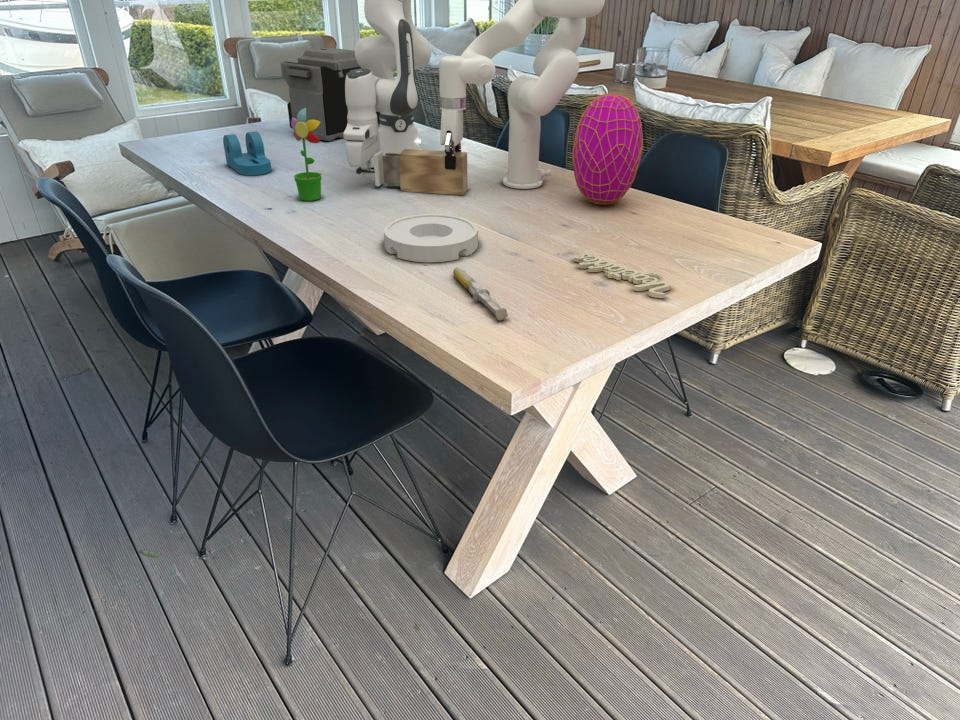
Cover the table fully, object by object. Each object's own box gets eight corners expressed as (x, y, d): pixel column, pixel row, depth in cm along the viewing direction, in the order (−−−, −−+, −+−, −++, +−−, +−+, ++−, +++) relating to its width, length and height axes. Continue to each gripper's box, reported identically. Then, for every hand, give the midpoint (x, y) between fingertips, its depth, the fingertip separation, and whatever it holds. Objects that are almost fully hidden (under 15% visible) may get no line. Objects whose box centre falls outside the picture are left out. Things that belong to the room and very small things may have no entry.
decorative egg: (611, 217, 189) (624, 103, 174) (555, 202, 201) (562, 94, 185) (647, 202, 202) (662, 94, 186) (592, 188, 213) (602, 86, 198)
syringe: (449, 274, 155) (449, 263, 153) (465, 272, 156) (464, 260, 154) (490, 323, 135) (491, 310, 133) (508, 319, 136) (508, 307, 134)
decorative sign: (686, 282, 150) (660, 295, 144) (686, 286, 150) (659, 300, 144) (592, 249, 166) (565, 259, 160) (592, 253, 167) (565, 263, 161)
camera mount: (227, 164, 233) (221, 132, 227) (257, 160, 238) (252, 129, 233) (244, 176, 220) (239, 143, 215) (276, 172, 225) (271, 139, 220)
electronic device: (351, 120, 297) (345, 44, 282) (389, 127, 286) (385, 48, 271) (285, 135, 271) (274, 52, 256) (324, 143, 260) (315, 57, 245)
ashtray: (391, 227, 181) (390, 212, 179) (479, 229, 180) (479, 214, 178) (377, 261, 161) (376, 245, 159) (476, 263, 160) (476, 247, 158)
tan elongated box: (400, 191, 209) (398, 154, 204) (406, 185, 215) (404, 148, 209) (462, 195, 206) (462, 157, 200) (467, 189, 212) (467, 152, 206)
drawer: (356, 185, 212) (353, 154, 207) (362, 180, 216) (359, 150, 212) (433, 189, 208) (432, 158, 203) (437, 184, 212) (436, 154, 207)
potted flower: (330, 196, 204) (321, 108, 191) (314, 203, 197) (304, 113, 185) (304, 192, 207) (294, 105, 194) (288, 199, 201) (276, 109, 188)
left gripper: (364, 120, 214) (367, 164, 222) (341, 135, 197) (345, 182, 204) (383, 121, 213) (386, 166, 221) (362, 136, 196) (365, 184, 203)
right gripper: (447, 97, 204) (447, 158, 213) (432, 108, 190) (433, 172, 199) (471, 98, 203) (471, 159, 212) (458, 109, 189) (458, 174, 198)
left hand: (366, 174), depth 212 cm, fingers closed, pressing on drawer
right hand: (453, 165), depth 205 cm, fingers closed on tan elongated box, 6 cm apart
